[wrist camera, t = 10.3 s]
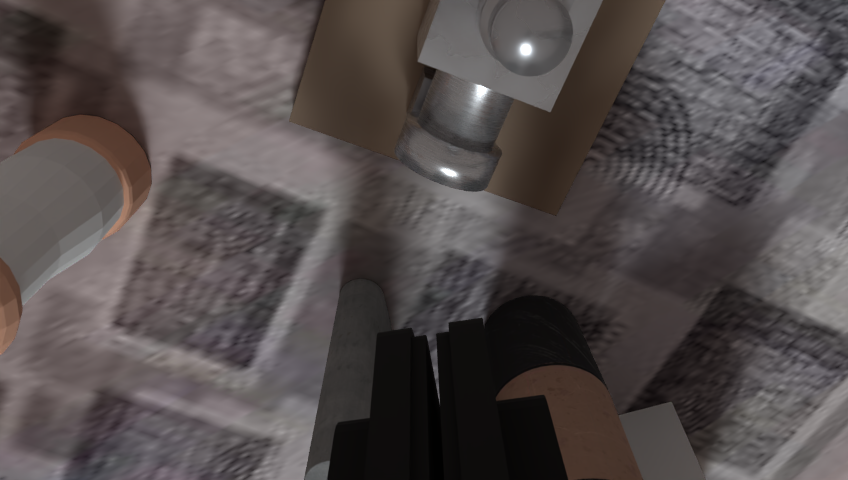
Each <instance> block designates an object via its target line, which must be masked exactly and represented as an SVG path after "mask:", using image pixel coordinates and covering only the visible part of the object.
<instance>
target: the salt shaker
mask: <svg viewBox="0 0 848 480" xmlns="http://www.w3.org/2000/svg"><path fill="white" fill-rule="evenodd" d="M150 187H151V167H150V165H149V162H148V160H147V157H146V154H145V152H144V150H143V149H142V148H141V146H140V145H139V144H138V142H137V141H136V140H135V138H134V137H133V136H132V135H131V134H129V133H128V132H127V131H125V130H124V129H123V128H121V127H120V126H119V125H118V124H115V123H113V122H111V121H108V120H106V119H104V118H101V117H98V116H89V115H81V114H80V115H75V116H70V117H64V118H62V119H60V120H59V121H57V122H55V123H54V124H52V125H50V126H48V127H47V128H45V129H43V130H42V131H40V132H38V133H37V134H35V135H33V136H32V137H30V138H29V139H27V140H25V141H24V142H22V143H21V145H20V146H19V148H18V149H17V150H16V152H15V153H14V155H13V156H11V157H9V158H7V159H5V160H4V161H2V162H0V355H1V354H3V352H4V351H5V350H6V349H7V347H8V346H9V345H10V344H11V343H12V341H13V340H14V339H15V336H16V333H17V330H18V326H19V322H20V318H21V314H22V306H23V305H24V304H25V303H26V302H27V301H28V300H29V299H30V298H31V297H32V296H33V295H34V294H35V293H36V292H37V291H38V290H39V289H40V288H41V287H42V286H43V285H44V284H45V283H46V282H47V281H48V280H49V279H51V278H53V277H54V276H56V275H57V274H59V273H60V272H62V271H64V270H65V269H67V268H68V267H70V266H71V265H73V264H75V263H76V262H78V261H79V260H81V259H82V258H84V257H86V256H87V255H89V254H90V252H91V251H92V250H93V249H94V248H95V247H96V245H97V244H98V243H99V242H100V241H101V240H102V239H105V238H106V237H108V236H110V235H112V234H114V233H115V232H117V231H119V229H120V228H121V227H122V226H123V225H124V224H125V223H126V222H127V221H128V220H129V219H130V217H131V216H132V215H133V214H134V213H135V212H136V211H137V210H138V209H139V207H140V206H141V205H142V204H143V203H144V201H145V200H146V199H147V196H148V193H149V190H150Z"/></svg>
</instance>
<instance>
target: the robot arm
mask: <svg viewBox="0 0 848 480" xmlns="http://www.w3.org/2000/svg"><path fill="white" fill-rule="evenodd" d="M436 336H437V356H438V375H439V393H440V404H439V399H438V393H437V388H436V383H435V377H434V372H433V367H432V361H431V356H430V351H429V345H428V340H427V336H426V335H423V336H416V337H414V333H413V330H412V328H407V329H400V330H393V331H386V332H379V333H377V338H376V350H375V362H374V373H373V385H372V396H371V408H370V418H365V419H357V420H350V421H343V422H338V423H337V425H336V427H335V431H334V437H333V444H332V450H331V457H330V463H329V470H328V476H327V480H568V477H567V473H566V469H565V465H564V462H563V458H562V454H561V451H560V447H559V443H558V440H557V436H556V432H555V429H554V425H553V421H552V417H551V414H550V410H549V406H548V403H547V400H546V397H545V395H536V396H529V397H522V398H514V399H507V400H499V401H496V396H495V390H494V385H493V379H492V373H491V367H490V361H489V355H488V349H487V343H486V337H485V331H484V325H483V319H482V318H478V319H471V320H464V321H456V322H449V332H444V333H437V334H436Z"/></svg>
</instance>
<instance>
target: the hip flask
mask: <svg viewBox="0 0 848 480" xmlns="http://www.w3.org/2000/svg"><path fill="white" fill-rule="evenodd" d="M386 331H392V329H391V324H390V318H389V314H388V310H387V306H386V302H385V298H384V295H383V292H382V290H381V288H380V287H379V286H378V285H377V284H376V283H374V282H372V281H370V280H367V279H355V280H352V281H350V282H348V283H347V284H345V285H344V286H343V288H342V289H341V291H340V295H339V300H338V306H337V311H336V316H335V321H334V326H333V332H332V337H331V342H330V347H329V353H328V358H327V363H326V368H325V373H324V379H323V384H322V389H321V394H320V399H319V405H318V410H317V415H316V420H315V425H314V431H313V436H312V441H311V446H310V452H309V457H308V462H307V467H306V472H305V478H304V480H327V476H328V470H329V463H330V457H331V450H332V444H333V437H334V431H335V427H336V425H337V423H338V422H343V421H350V420H357V419H365V418H370V408H371V396H372V385H373V373H374V362H375V350H376V338H377V333H379V332H386Z"/></svg>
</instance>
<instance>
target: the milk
mask: <svg viewBox="0 0 848 480" xmlns="http://www.w3.org/2000/svg"><path fill="white" fill-rule="evenodd" d="M618 416H619V419H620V421H621V424H622V426H623V429H624V431H625V434H626V437H627V439H628V442H629V444H630V447H631V450H632V452H633V455H634V457H635V460H636V462H637V465H638V468H639V470H640V473H641V475H642V478H643V480H706V479H705V477H704V474H703V472H702V470H701V467H700V465H699V463H698V461H697V458H696V456H695V454H694V451H693V449H692V447H691V445H690V442H689V440H688V438H687V436H686V433H685V431H684V429H683V426H682V424H681V422H680V420H679V417H678V415H677V413H676V410H675V408H674V406H673V404H672V402H668V403H664V404H660V405H656V406H652V407H649V408H645V409H641V410H637V411H633V412H629V413H626V414H622V415H618Z"/></svg>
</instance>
